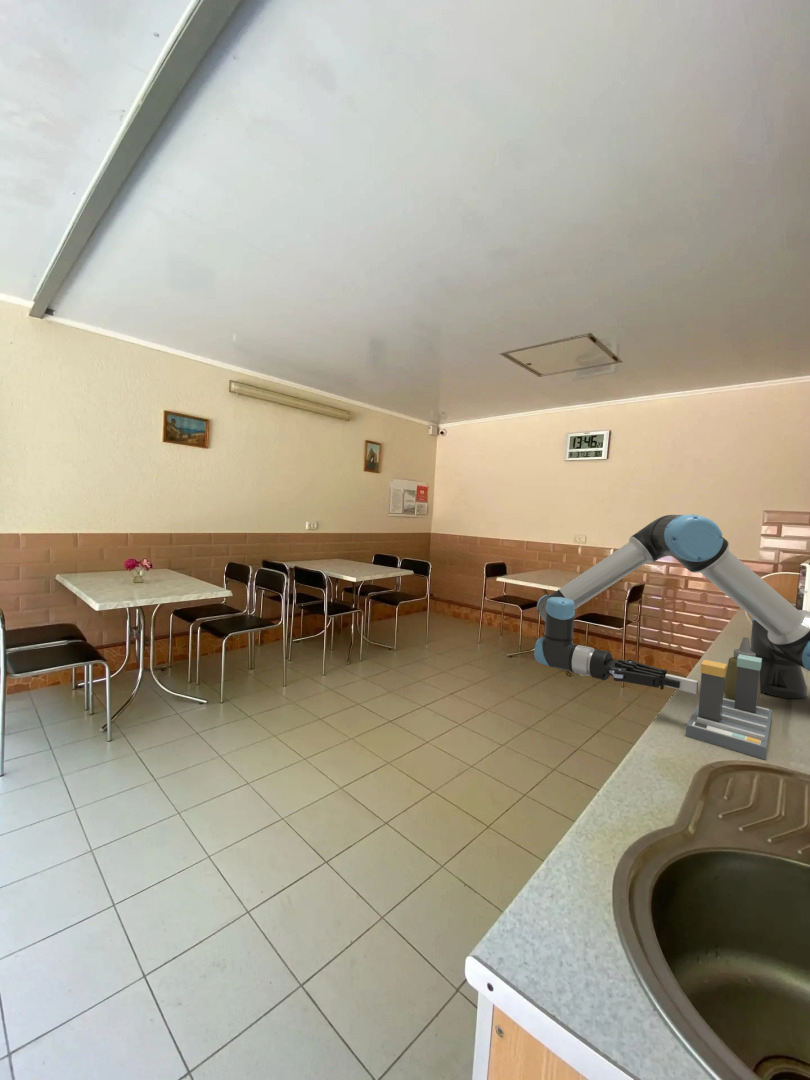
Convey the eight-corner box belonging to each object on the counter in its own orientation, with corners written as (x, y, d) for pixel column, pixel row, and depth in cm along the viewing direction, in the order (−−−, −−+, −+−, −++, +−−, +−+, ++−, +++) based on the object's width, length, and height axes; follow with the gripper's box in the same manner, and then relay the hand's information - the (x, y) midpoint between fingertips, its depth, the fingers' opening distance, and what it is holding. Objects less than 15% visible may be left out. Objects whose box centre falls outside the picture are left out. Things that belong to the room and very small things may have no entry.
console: (703, 702, 121) (704, 689, 120) (771, 719, 112) (772, 705, 111) (685, 735, 102) (686, 720, 102) (765, 759, 93) (766, 743, 92)
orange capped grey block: (699, 713, 107) (704, 659, 107) (722, 719, 104) (727, 664, 104) (696, 719, 104) (701, 663, 103) (719, 726, 101) (724, 668, 100)
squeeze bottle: (754, 703, 122) (760, 636, 120) (763, 714, 114) (769, 644, 113) (718, 696, 125) (723, 632, 124) (725, 708, 118) (730, 639, 117)
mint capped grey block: (734, 705, 113) (739, 654, 112) (757, 711, 110) (761, 658, 109) (733, 711, 109) (737, 658, 109) (756, 717, 107) (760, 662, 106)
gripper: (600, 670, 126) (700, 695, 111) (583, 682, 116) (690, 711, 101) (602, 643, 126) (703, 665, 110) (585, 654, 116) (693, 678, 101)
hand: (697, 687), depth 106 cm, fingers closed
